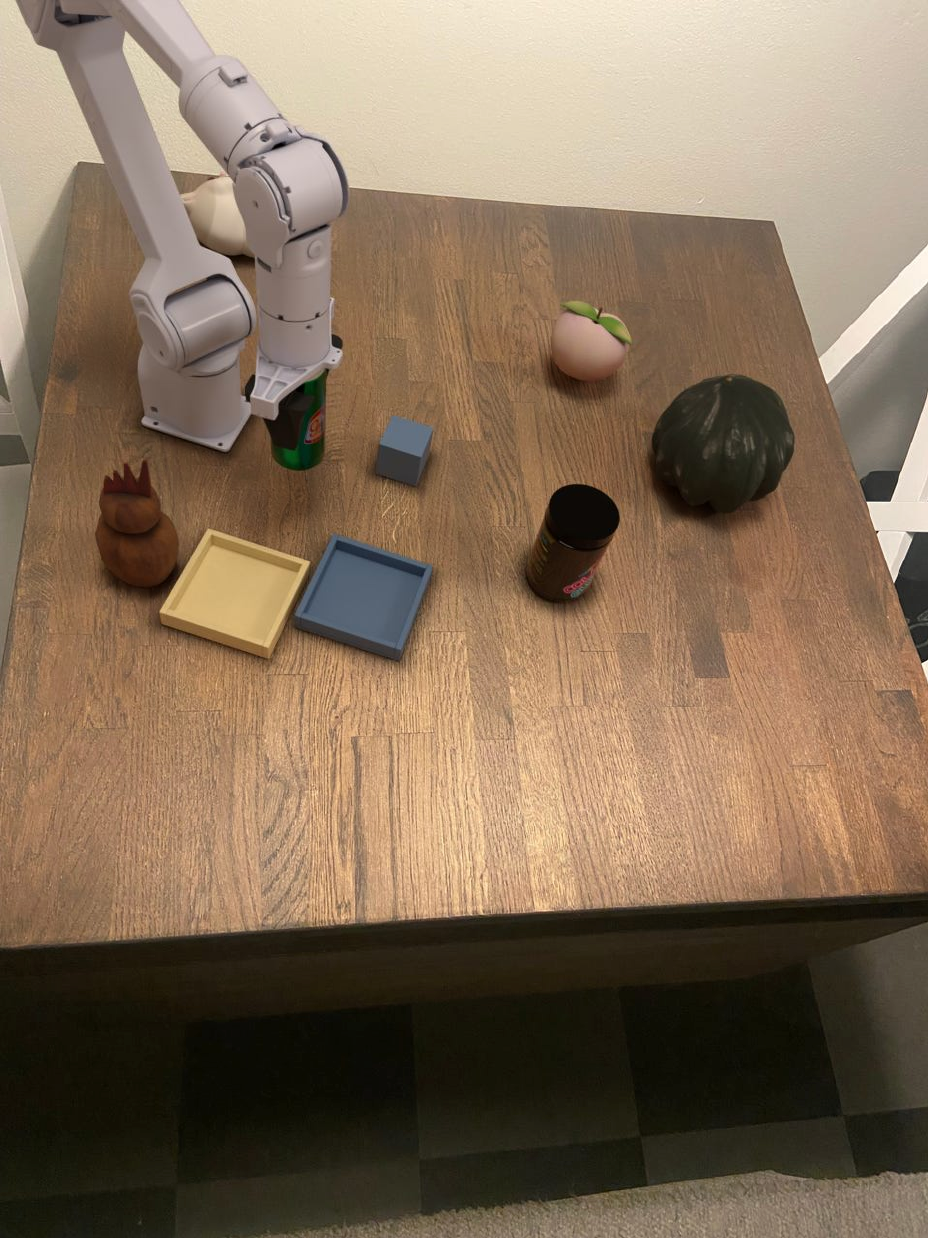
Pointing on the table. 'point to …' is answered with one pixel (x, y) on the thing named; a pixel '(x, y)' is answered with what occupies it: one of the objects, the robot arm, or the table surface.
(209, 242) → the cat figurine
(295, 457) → the soda can
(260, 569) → the cream tray
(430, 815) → the table surface
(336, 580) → the blue tray
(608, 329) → the decorative fruit
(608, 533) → the supplement container
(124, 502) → the wooden figurine
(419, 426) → the blue block
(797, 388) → the table surface
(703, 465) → the squash
